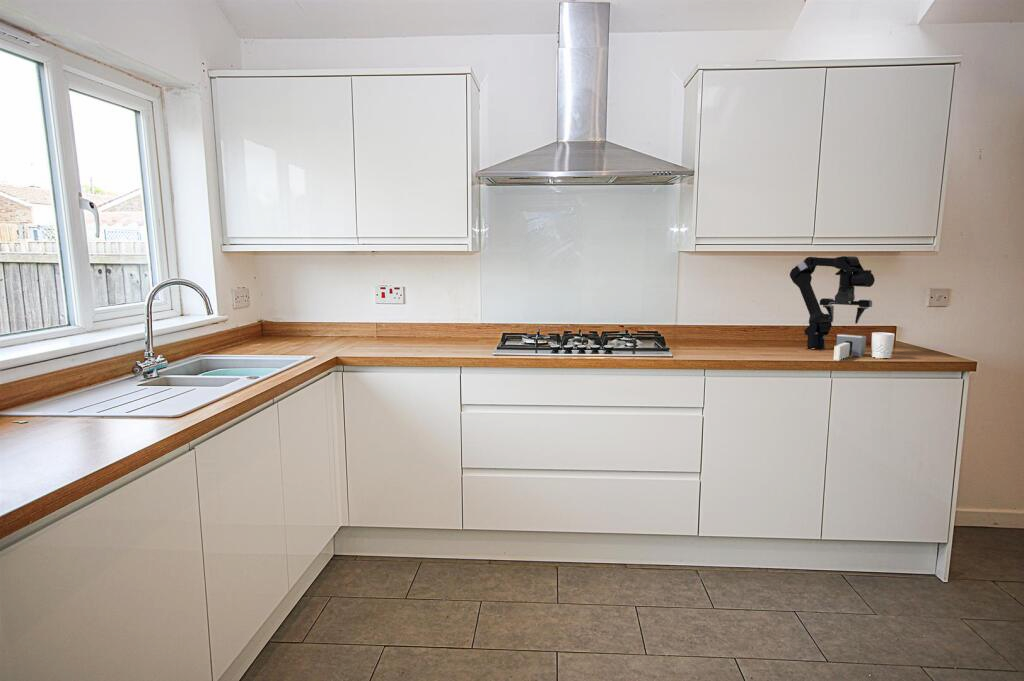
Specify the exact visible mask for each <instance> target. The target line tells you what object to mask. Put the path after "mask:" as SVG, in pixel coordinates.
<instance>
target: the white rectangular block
mask: <svg viewBox="0 0 1024 681" xmlns="http://www.w3.org/2000/svg"><path fill="white" fill-rule="evenodd" d="M849 349H850V343H842V344H839V345H837V344H836V345H834V348H833V359H832V360H833V361H837V362H838V361H839V362H840V361H842V360H844V359H847V358H849V357H848V356H850V354H849ZM846 357H847V358H846ZM843 358H844V359H843ZM841 359H842V360H841Z"/></svg>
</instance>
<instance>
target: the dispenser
mask: <svg viewBox="0 0 1024 681" xmlns="http://www.w3.org/2000/svg"><path fill="white" fill-rule="evenodd" d="M842 343H850V349H849V353H852V354H851V357H853V356H859V357H858V358H861V357H860V356H862V357H864V356H865V355H866V344H867V336H866V335H855V334H842V333H841V334H837V335H836V345H839V344H842ZM863 355H864V356H863Z"/></svg>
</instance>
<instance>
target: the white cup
mask: <svg viewBox="0 0 1024 681" xmlns="http://www.w3.org/2000/svg"><path fill="white" fill-rule="evenodd" d="M895 336H896V335H895V333H893V332H882V331H881V332H879V331H877V332H876V331H874V332H871V348H870V349H871V355H870V356H872V357H871V358H873V357H875V359H880V358H890V359H892V354H893V348H894V343H895V342H894V341H895Z"/></svg>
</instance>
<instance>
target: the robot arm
mask: <svg viewBox="0 0 1024 681" xmlns="http://www.w3.org/2000/svg"><path fill="white" fill-rule="evenodd" d="M816 267H832V268H835V269H838V271H837V272H836V273H834V274H835V276H839V282H838V285H839V286H838V290H837V293H836V294H835V296H834V298H829V297H827V298H826V297H823V298H820V300H819V302H818V299H817V296H816V294H815V292H814V288H813V286H812V284H811V283H812V279H813V278H812V274H814V272H815V270H816V269H817V268H816ZM789 278H790V279H791V280H792V282H793V284H795V285H796V286H797V287H798V288H799V291H800V293H801V297H802V298H803V301H804V304H805V306H806V308H807V311H808V315H809V317H808V318H809V319H808V324H809V325H808V326H807V327H806V328H805V329H804V331H803V333H804V335H805V336H807V341H806V342H807V343H806V347H808V348H815V349H814V350H817V349H822V350H824V348H825V349H826V346H827V345H826V341H827V339H826V336H828V335H829V333H830V330H831V329H832V327H833V324H832V323H834V310H835V308H834V305H843V306H844V305H845V306H847V305H848V306H858V307H856V308H857V309H856V311H857V312H856V316H855V325H857V324H858V322H859V321H860V318H861V317H862V315H863V313H864V312H865V310H867V309H869V308H871V307H873V301H872V299H859V300H856V299H855V298H856V297H855V290H856V288H857V287H860V288H861V287H862V288H863V287H864V288H870V287H872V286H873V285H874V284H875V280H876V279H875V277H874V274H873V273H872V270H871V269H864V268H863V266H862V264H861V262H860V260H859V258H858V256H855V255H853V256H852V255H851V256H850V255H845V256H844V255H842V256H836V257H819V256H818V257H817V256H808V257H805V259H804V260H802V261H801V262H800V263H797V265H796V266H794V267H793V268H792V269H791V270H790V272H789ZM855 287H856V288H855ZM821 306H822V308H824V309H825V310H826V311H827V313H824V312H823V311H822V309H821Z"/></svg>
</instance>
